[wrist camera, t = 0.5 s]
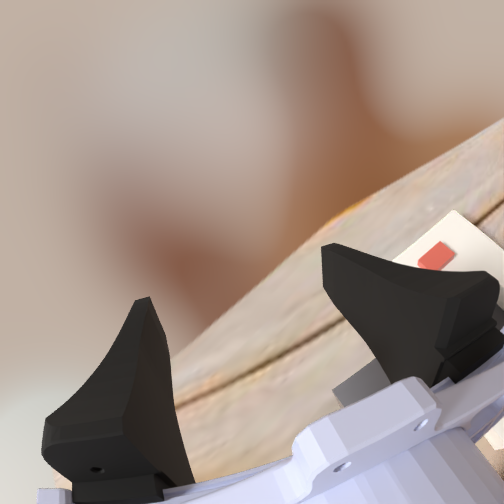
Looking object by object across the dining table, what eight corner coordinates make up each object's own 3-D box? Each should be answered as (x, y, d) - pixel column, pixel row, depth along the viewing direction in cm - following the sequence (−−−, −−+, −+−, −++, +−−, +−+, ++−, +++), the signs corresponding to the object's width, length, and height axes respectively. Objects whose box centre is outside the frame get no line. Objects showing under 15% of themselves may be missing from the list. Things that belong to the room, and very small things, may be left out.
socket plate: (572, 347, 18) (590, 331, 15) (495, 450, 17) (511, 446, 14) (449, 228, 31) (454, 204, 28) (365, 298, 30) (364, 277, 27)
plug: (413, 418, 22) (432, 398, 15) (370, 451, 21) (372, 445, 15) (384, 382, 25) (389, 346, 18) (343, 412, 24) (331, 390, 18)
